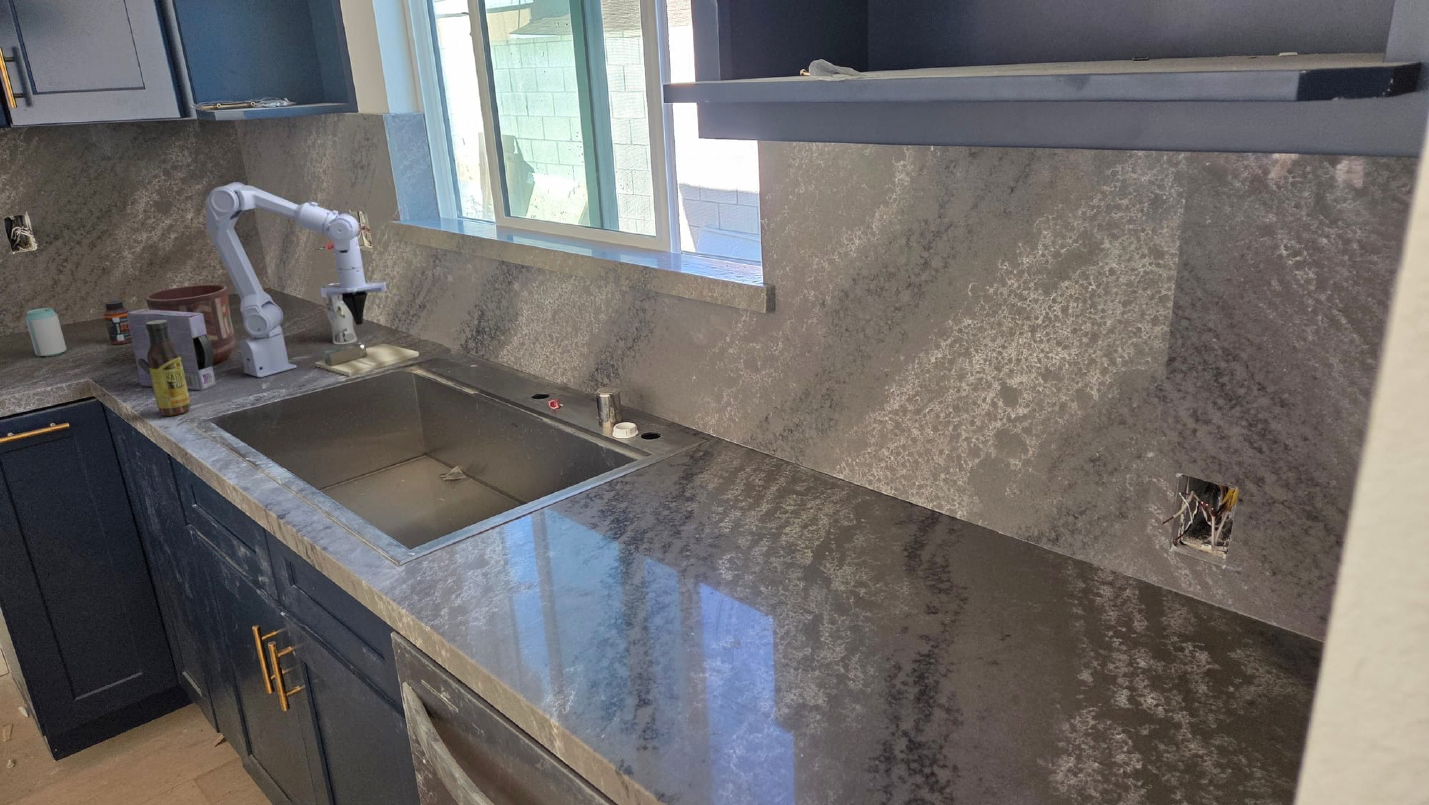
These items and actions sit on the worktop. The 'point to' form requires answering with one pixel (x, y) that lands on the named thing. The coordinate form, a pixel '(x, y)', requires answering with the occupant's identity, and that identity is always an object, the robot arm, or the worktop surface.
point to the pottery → (203, 301)
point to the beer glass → (339, 318)
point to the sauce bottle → (166, 371)
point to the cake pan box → (175, 345)
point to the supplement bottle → (117, 323)
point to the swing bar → (346, 354)
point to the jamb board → (369, 359)
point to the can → (45, 332)
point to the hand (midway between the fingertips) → (359, 323)
